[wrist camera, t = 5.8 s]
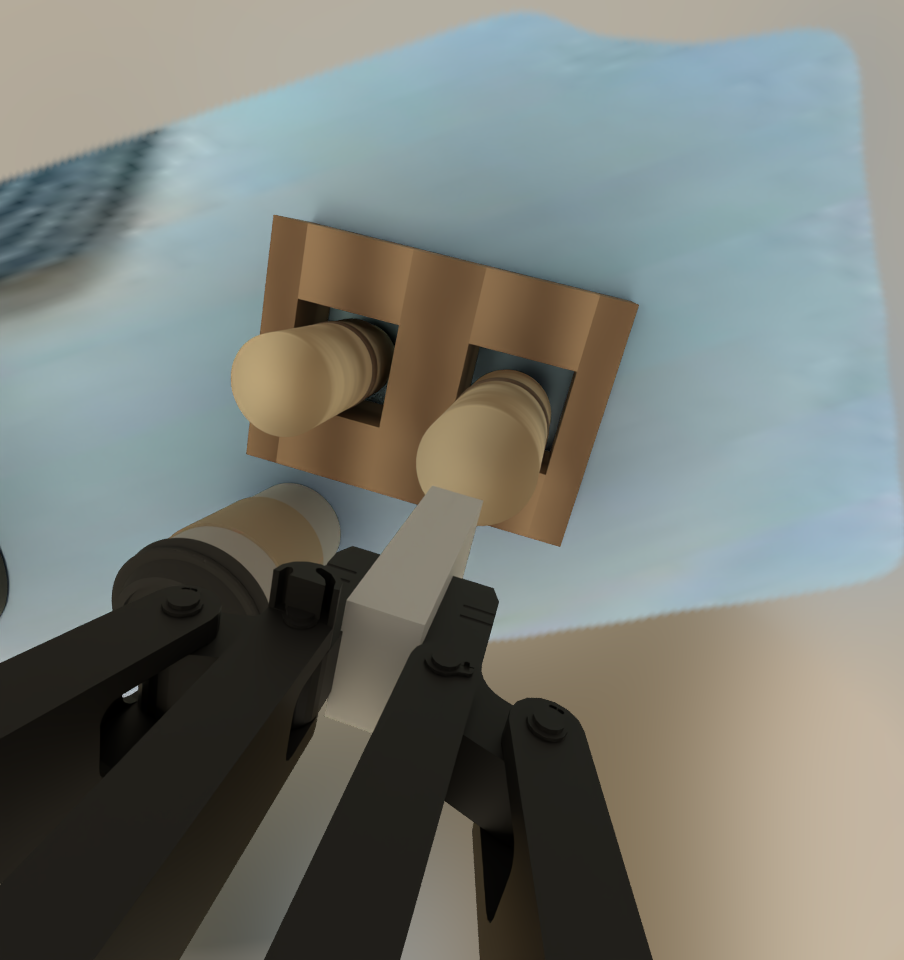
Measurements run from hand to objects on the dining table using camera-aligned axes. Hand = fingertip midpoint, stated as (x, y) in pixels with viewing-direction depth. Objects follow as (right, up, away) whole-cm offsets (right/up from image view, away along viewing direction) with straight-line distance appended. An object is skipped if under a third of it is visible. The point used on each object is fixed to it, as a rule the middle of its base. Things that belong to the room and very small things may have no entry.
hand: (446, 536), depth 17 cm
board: (-1, +8, +22) cm, 23 cm away
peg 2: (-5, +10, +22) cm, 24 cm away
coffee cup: (-11, -2, +28) cm, 30 cm away
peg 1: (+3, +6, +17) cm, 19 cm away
